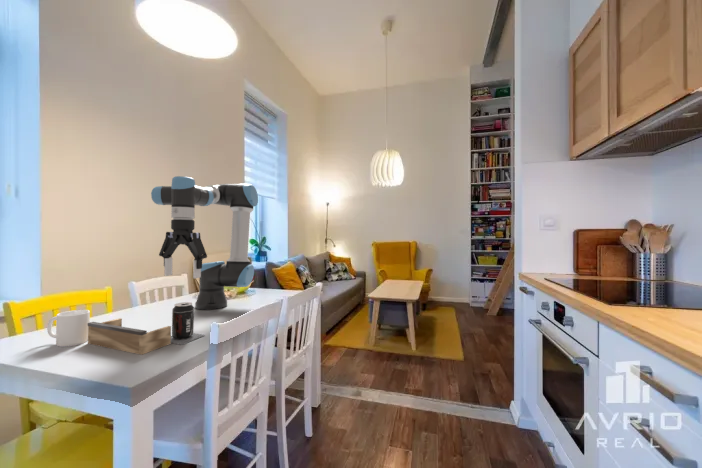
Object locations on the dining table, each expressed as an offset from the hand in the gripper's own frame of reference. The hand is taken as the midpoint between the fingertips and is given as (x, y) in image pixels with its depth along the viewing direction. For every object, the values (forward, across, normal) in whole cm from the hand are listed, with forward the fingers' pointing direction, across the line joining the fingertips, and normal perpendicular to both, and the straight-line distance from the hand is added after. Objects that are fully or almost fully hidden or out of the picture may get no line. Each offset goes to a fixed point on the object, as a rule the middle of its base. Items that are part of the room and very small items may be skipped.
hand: (182, 276), depth 111 cm
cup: (+22, -29, -19) cm, 41 cm away
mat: (+22, +3, -2) cm, 22 cm away
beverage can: (+22, +3, -2) cm, 22 cm away
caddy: (+22, -9, -12) cm, 27 cm away
